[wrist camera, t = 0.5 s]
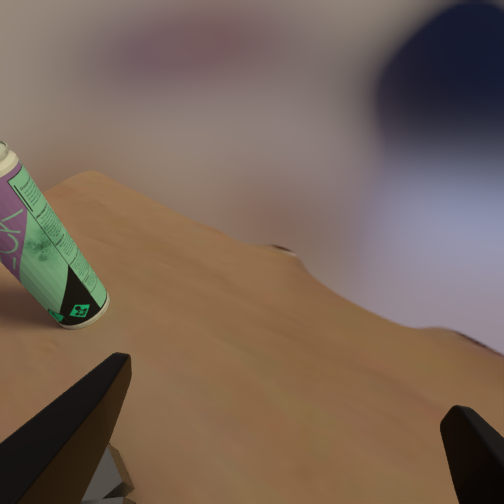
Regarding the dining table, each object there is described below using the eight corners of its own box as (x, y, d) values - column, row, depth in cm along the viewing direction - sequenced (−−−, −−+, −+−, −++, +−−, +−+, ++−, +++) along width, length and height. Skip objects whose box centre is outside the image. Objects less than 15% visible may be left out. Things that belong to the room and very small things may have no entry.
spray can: (63, 293, 36) (-84, 115, 22) (112, 282, 36) (-3, 100, 23) (52, 335, 32) (-136, 149, 18) (107, 322, 33) (-35, 131, 19)
